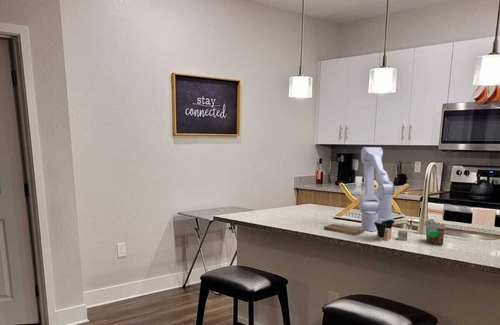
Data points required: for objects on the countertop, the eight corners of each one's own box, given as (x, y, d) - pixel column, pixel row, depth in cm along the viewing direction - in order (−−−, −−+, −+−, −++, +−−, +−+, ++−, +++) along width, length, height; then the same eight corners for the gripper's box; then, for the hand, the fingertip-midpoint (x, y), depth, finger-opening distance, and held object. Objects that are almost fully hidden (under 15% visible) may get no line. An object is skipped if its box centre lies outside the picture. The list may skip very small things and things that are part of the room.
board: (333, 226, 209) (333, 223, 209) (364, 232, 197) (364, 229, 197) (323, 229, 202) (324, 226, 202) (355, 235, 190) (355, 232, 190)
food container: (419, 239, 185) (420, 218, 184) (432, 239, 184) (433, 219, 184) (430, 246, 172) (431, 224, 172) (444, 246, 172) (445, 224, 172)
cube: (381, 237, 188) (381, 227, 187) (391, 239, 184) (391, 228, 184) (377, 239, 184) (377, 228, 183) (387, 240, 180) (387, 230, 180)
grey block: (397, 238, 186) (398, 230, 186) (406, 239, 184) (407, 231, 184) (398, 240, 182) (398, 232, 182) (407, 241, 181) (407, 232, 180)
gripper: (387, 211, 175) (386, 240, 176) (399, 207, 186) (397, 234, 187) (372, 209, 180) (371, 237, 180) (384, 205, 191) (383, 232, 191)
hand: (384, 235), depth 184 cm, fingers open, 7 cm apart
